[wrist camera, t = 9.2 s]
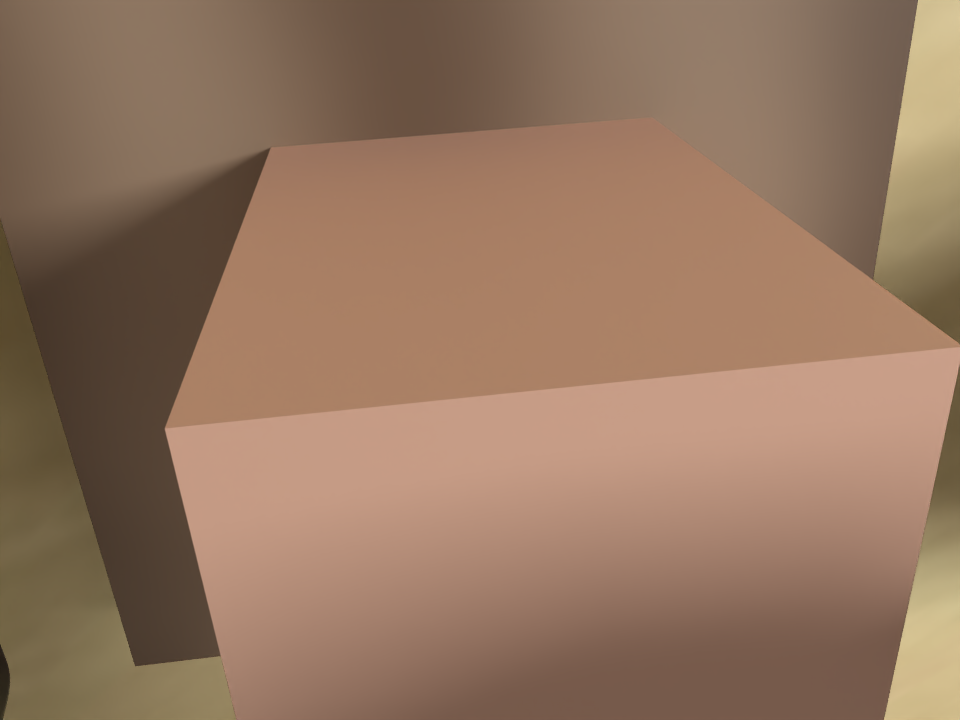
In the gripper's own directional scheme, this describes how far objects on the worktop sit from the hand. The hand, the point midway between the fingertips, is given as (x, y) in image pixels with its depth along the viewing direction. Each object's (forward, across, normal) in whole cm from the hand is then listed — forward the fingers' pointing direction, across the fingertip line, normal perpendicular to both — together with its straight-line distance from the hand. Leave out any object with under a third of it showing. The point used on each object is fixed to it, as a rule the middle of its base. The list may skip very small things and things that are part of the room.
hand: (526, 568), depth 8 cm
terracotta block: (+6, 0, 0) cm, 6 cm away
